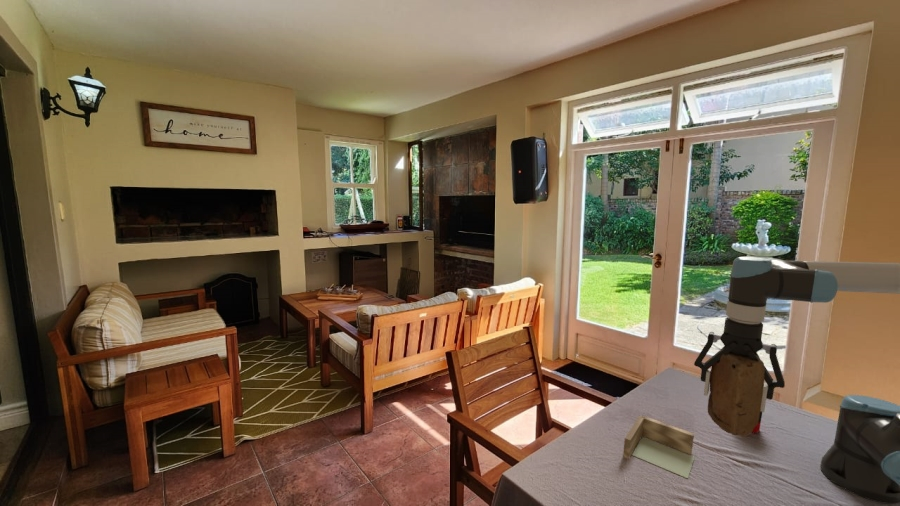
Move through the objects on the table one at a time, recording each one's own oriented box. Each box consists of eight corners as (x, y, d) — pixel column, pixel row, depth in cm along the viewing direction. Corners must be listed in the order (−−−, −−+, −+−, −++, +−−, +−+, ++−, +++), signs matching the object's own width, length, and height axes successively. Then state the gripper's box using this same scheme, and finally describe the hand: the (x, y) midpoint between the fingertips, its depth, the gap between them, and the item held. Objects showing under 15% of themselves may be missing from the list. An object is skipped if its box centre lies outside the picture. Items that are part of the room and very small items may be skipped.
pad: (694, 457, 111) (694, 456, 111) (687, 478, 103) (687, 478, 103) (642, 437, 120) (642, 436, 120) (631, 455, 112) (632, 454, 111)
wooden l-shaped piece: (691, 452, 113) (694, 433, 112) (681, 482, 101) (684, 461, 100) (638, 431, 123) (639, 414, 122) (623, 456, 111) (624, 438, 110)
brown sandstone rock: (760, 438, 95) (771, 362, 91) (730, 439, 94) (741, 363, 91) (726, 413, 105) (736, 344, 102) (700, 414, 105) (708, 345, 102)
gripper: (807, 326, 90) (793, 411, 94) (691, 306, 105) (683, 381, 109) (809, 335, 85) (794, 425, 88) (686, 313, 100) (678, 391, 103)
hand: (733, 401), depth 99 cm, fingers closed on brown sandstone rock, 11 cm apart
